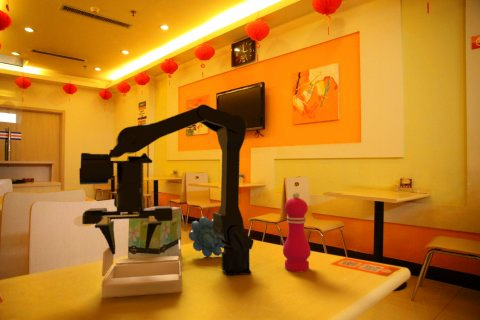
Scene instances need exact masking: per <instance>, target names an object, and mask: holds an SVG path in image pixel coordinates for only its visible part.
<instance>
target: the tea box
mask: <svg viewBox="0 0 480 320" xmlns="http://www.w3.org/2000/svg"><path fill="white" fill-rule="evenodd" d="M155 207H156V206H151V207H147V208H146V207H145V209H144V210H155ZM171 207H172V208H173V220H172V221H162V225H157V226H156V229H155V231H154V233H153V236H152V239H151V242H150V246H149V249H148V252H147V253H146V252H145V245H146V236H147V227H148V222H149V221H150V220H149V218H134V219H128V235H127V237H128V239H127V240H128V241H127V244H128V245H127V259H130V258H147V257H165V256H179V240H180V242H181V243H182V207H179V206H178V207H176V206H171ZM133 213H138V212H133ZM157 263H159V262H157ZM140 264H142V263H140Z"/></svg>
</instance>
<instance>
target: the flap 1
mask: <svg viewBox="0 0 480 320" xmlns="http://www.w3.org/2000/svg"><path fill="white" fill-rule="evenodd" d="M114 255H115V254H114ZM114 255H113V254H112V252H111V250H110V248H109V246H108V247H107V248H106V249H105V250H104V251H103V252H102V267H101V269H102V270H101V276H102V277H105V276H106V275H107V273H108V272H109V270H110V269H111V267H112V266H113V265H114Z"/></svg>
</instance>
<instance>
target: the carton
mask: <svg viewBox="0 0 480 320" xmlns="http://www.w3.org/2000/svg"><path fill="white" fill-rule="evenodd" d="M157 262H159V263H157ZM140 263H142V264H140ZM182 272H183V271H181V269H180V260H179V255H177V256H165V257H147V258H130V259H128V258H119V259H118V260H117V261H116V263H115V265H114V264H112V266H111V267H110V269H109V270H108V271H107V273H106V274H105V276H104V277H103V279H102V281H101V298H102V299H109V298H122V297H124V298H125V297H134V296H150V295H151V296H152V295H163V294H173V293H174V294H175V293H177V294H178V293H182V292H183V291H182V290H183V288H182V287H183V278H182V277H183V273H182Z"/></svg>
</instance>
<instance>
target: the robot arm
mask: <svg viewBox="0 0 480 320" xmlns="http://www.w3.org/2000/svg"><path fill="white" fill-rule="evenodd" d="M196 124H202V125H204V126H205V127H206V128H207V129H209V130H211V131H212V132H215V133H217V134H216V135H217V141H218V144H219V147H220V150H221V175H220V176H221V179H220V180H221V184H220V185H221V187H220V207H219V210H218V212H212V219H213V226H212V228H213V229H214V231H215V234H216V235H217V236H218V238H220V239H221V242H222V244H224V245H226V246H224V248H223V251H222V253H221V255H220V256H221V261H220V262H221V270H222V271H223V272H224V274H225V276H233V275H234V276H235V275H244V274H245V275H246V274H248V275H249V274H252V270H251V268H250V250H252V248H253V245H254V239H252V238H251V237H250V236H249V235H248V234H247V233H246V232H245V231H246V230H245V225H244V224H245V223H244V218H243V215H242V212H241V210H240V200H239V199H240V196H239V195H240V162H241V161H240V157H241V155H240V154H241V149H242V147H243V145H244V142H245V139H246V133H247V121H246V120H245V119H244V118H243V117H242V116H240V115H238V114H234V115H232V114H230V113H228V112H225V111H223V110H219V109H217V108H213V107H211V106H210V105H207V104H204V103H203V104H199V105H198V106H197V107H194V108H191V109H188V110H186V111H183V112H181V113H178V114H175V115H173V116H170V117H167V118H164V119H161V120H159V121H156V122H152V123H145V124H139V125H138V124H137V125H132V126H127V127H124V128H123V129H121V130H120V132H119V133H118V135H117V136H116V139H115V142H116V145H115V146H114V147H113V149H110V150H109V153H91V152H90V153H89V152H81V154H80V167H79V171H78V173H79V174H78V175H79V185H80V186H83V185H84V186H85V185H88V186H89V185H109V180H114V175H115V173H114V172H115V166H114V165H115V164H116V192H115V193H114V198H113V199H114V200H113V205H114V207H115V208H116V210H110V211H109V210H108V208H107V207H93V208H92V207H91V208H89V209H86V210H85V211H84V212H83V213H82V219H81V220H82V225H94V228H95V229H99V230H100V231H101V233H102V235H103V237H104V238H105V241H106V243H107V245H108V247H109V248H110V250H111V252H112V254H113V255H115V254H116V237H115V232H114V230H115V229H114V227H115V226H114V225H115V221H114V220H129V219H134V218H149V220H150V221H149V222H148V227H147V236H146V245H145V252H146V253H147V252H148V249H149V246H150V242H151V239H152V236H153V233H154V231H155V229H156V226H157V225H162V221H172V220H173V208H172V207H173V206H171V205H155V206H154V207H155V210H144V209H146V198H145V196H144V164H152V163H153V160H152V159H151V158H150V157H149V156H148V155H147V153H146V152H143V153H142V154H141V155H132V154H135V153H137V152H139V151H141V150H143V149H144V148H146V147H148V146H149V145H151V144H152V143H154V142H155V141H157V140H159V139H160V138H163V137H165V136H168V135H172V134H174V133H176V132H179V131H181V130H184V129H186V128H189V127H191V126H194V125H196ZM125 154H126V155H127V157H126V160H112V159H118V158H120V157H122V156H123V155H125ZM133 212H138V213H133Z"/></svg>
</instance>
